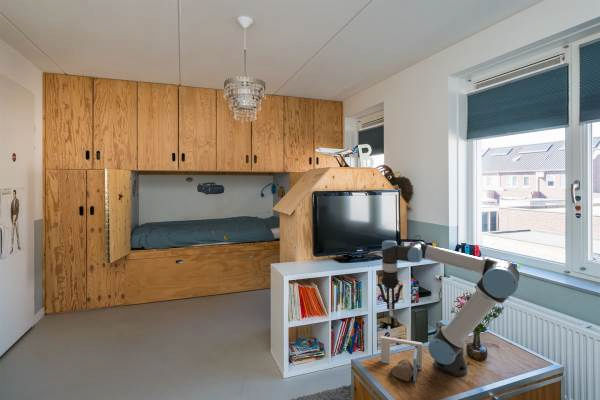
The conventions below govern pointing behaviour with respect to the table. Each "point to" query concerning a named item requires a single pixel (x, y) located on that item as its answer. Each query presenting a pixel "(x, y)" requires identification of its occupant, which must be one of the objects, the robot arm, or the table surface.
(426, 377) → the table surface
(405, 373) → the stone
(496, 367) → the table surface
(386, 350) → the wall frame
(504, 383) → the table surface
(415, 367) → the door
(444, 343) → the robot arm
